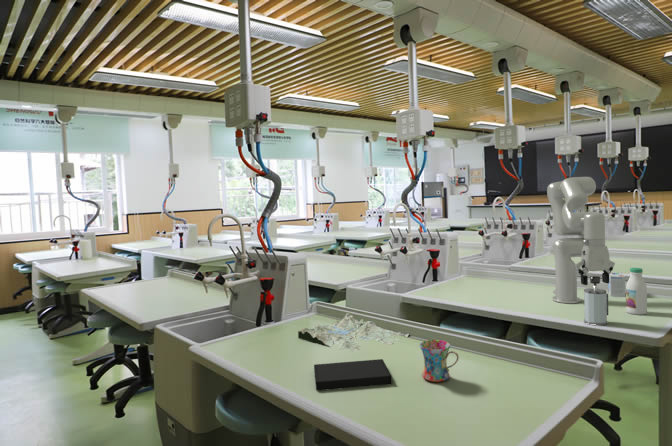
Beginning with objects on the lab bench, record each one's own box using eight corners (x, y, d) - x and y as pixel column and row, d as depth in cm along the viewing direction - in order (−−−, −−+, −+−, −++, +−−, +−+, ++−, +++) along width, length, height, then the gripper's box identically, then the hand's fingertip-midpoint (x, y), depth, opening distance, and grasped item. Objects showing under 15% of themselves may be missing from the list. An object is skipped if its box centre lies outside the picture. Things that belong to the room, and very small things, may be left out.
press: (579, 320, 187) (579, 288, 186) (599, 318, 188) (599, 287, 187) (593, 326, 178) (593, 293, 178) (614, 324, 180) (614, 291, 179)
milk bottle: (643, 310, 196) (643, 266, 195) (649, 315, 189) (649, 269, 188) (623, 310, 199) (623, 266, 198) (629, 314, 192) (628, 269, 191)
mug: (416, 380, 135) (414, 347, 134) (427, 370, 143) (426, 338, 142) (454, 388, 128) (453, 353, 128) (463, 376, 136) (462, 343, 135)
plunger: (584, 311, 185) (584, 275, 184) (596, 310, 186) (596, 275, 185) (594, 315, 180) (593, 278, 179) (606, 314, 180) (606, 277, 179)
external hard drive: (391, 385, 133) (391, 375, 133) (316, 391, 131) (315, 382, 131) (382, 367, 147) (382, 358, 147) (314, 373, 145) (313, 364, 145)
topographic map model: (410, 337, 178) (410, 325, 177) (363, 359, 157) (362, 345, 156) (346, 322, 203) (345, 312, 202) (298, 339, 182) (297, 327, 181)
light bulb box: (607, 292, 234) (607, 272, 234) (622, 292, 231) (622, 272, 231) (610, 296, 225) (610, 275, 224) (625, 297, 222) (625, 276, 221)
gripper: (581, 245, 176) (582, 287, 177) (620, 242, 178) (620, 284, 179) (569, 243, 184) (570, 283, 185) (607, 240, 186) (607, 280, 187)
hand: (595, 283), depth 182 cm, fingers open, 9 cm apart
